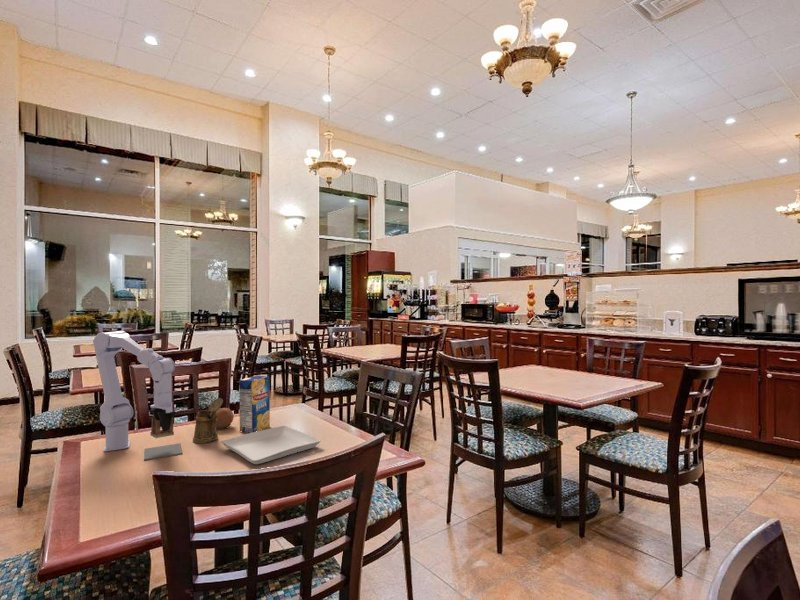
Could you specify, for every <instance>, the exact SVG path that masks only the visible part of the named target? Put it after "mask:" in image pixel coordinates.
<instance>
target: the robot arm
mask: <svg viewBox="0 0 800 600" xmlns="http://www.w3.org/2000/svg"><path fill="white" fill-rule="evenodd" d="M92 342H93V343H92V344H93V348H94V352H95V358H96V362H97V367H98V371H99V373H98V374H99V376H100V377H99V378H100V381H101V385H102V390H103V391H102V392H103V395H104V398H105V401H104V402H103V403H102V405H101V406H100V407H99V411H100V413H99V420H100V422H101V424H102V425H103V426H104V427H105V445H104V448H103V453H105V452H113V451H117V450H119V451H120V450H123V449H129V448H130V444H131V439H129V422H130V421H131V419H132V418H133V416H134V409H133V406H132V405H131V403H130V400H129V399H128V398H126V397H125V396H123V394H122V393H123V392H122V388H121V385H120V380H119V375H118V371H117V366H116V362H115V358H114V357H115V356H116V355H117V353H119V352H120V351H121V350H122V349H124V351H127V352H129V353H131V354H132V355H135V356H136V360H137V361H138V362H139V363H140V364H142V365H144V366H145V367H146V368H148V369H149V372H150V374H151V377H152V378H151V379H152V380H153V404H151V405H149V406H150V411H151V412H152V415H153V418H156V421H157V420H160V428H161V430H162V431H167V430H169V429H170V425H171V421H172V418H173V419H174V416H175V414H176V410H174V409H173V402H172V400H173V399H172V397H173V396H172V395H173V394H172V393H173V392H172V386H173V385H172V373H174V371H175V370H176V364H175V361H174V360H173V359H172V357H163V355H162V354H161V355H160V354H159V353H157V352H155V351H154V349H153V348H152V347H151V348H149V347H148V348H147V347H146V348H144V347H143V346H141V345H140V344H138V342H137V341H135V340H134V339H132V338H131V336H130V334H129V333H127V332H126V331H125V330H118V331H108V332H103V331H102V332H97V334H96V335H95V336H94V338H93V340H92Z"/></svg>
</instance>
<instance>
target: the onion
mask: <svg viewBox="0 0 800 600" xmlns="http://www.w3.org/2000/svg"><path fill="white" fill-rule="evenodd" d="M216 414H217V424H216V430H221V429H223V428H225V429H228V428H230V427H231V424H232V423H233V420H234V412H233V411H232V410H231V409H230V408H228V407H222V408H221V407H220V408H219V409H218V410H217V411H216ZM227 427H228V428H227Z"/></svg>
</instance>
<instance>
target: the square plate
mask: <svg viewBox="0 0 800 600" xmlns="http://www.w3.org/2000/svg"><path fill="white" fill-rule="evenodd" d="M321 442H322V441H321V439H318V438H316V437H314V436H312V435H309V434H307V433H305V432H302V431H301V430H297V429H295V428H292V427H289V426H288V425H287V426H286V425H281V426H276V427H275V426H274V427H269V428H265V429H263V430H260V431H257V432H253V433H245V434H240V435H239V436H235V437H230V438H226V439H224V440H221V441H220V443H221V444H222V445H223V446H224V447H225V448H227V449H229V450H230V451H233V452H234V453H236V454H237V455H239V456H240V457H242V458H243V459H244V460H246V461H248V462H250V463H252V464H254V465H259V464H260V465H262V464H265V463H267V462H268V463H269V462H270V461H274V460H277V459H280V458H283V457H287V455H288V456H291V455H294V454H298V453H301V452H303V451H306V450H309V449H310V450H311V449H313V448H315V447H316V446H317V445H319V444H320V443H321ZM297 452H298V453H297ZM290 454H291V455H290Z"/></svg>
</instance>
